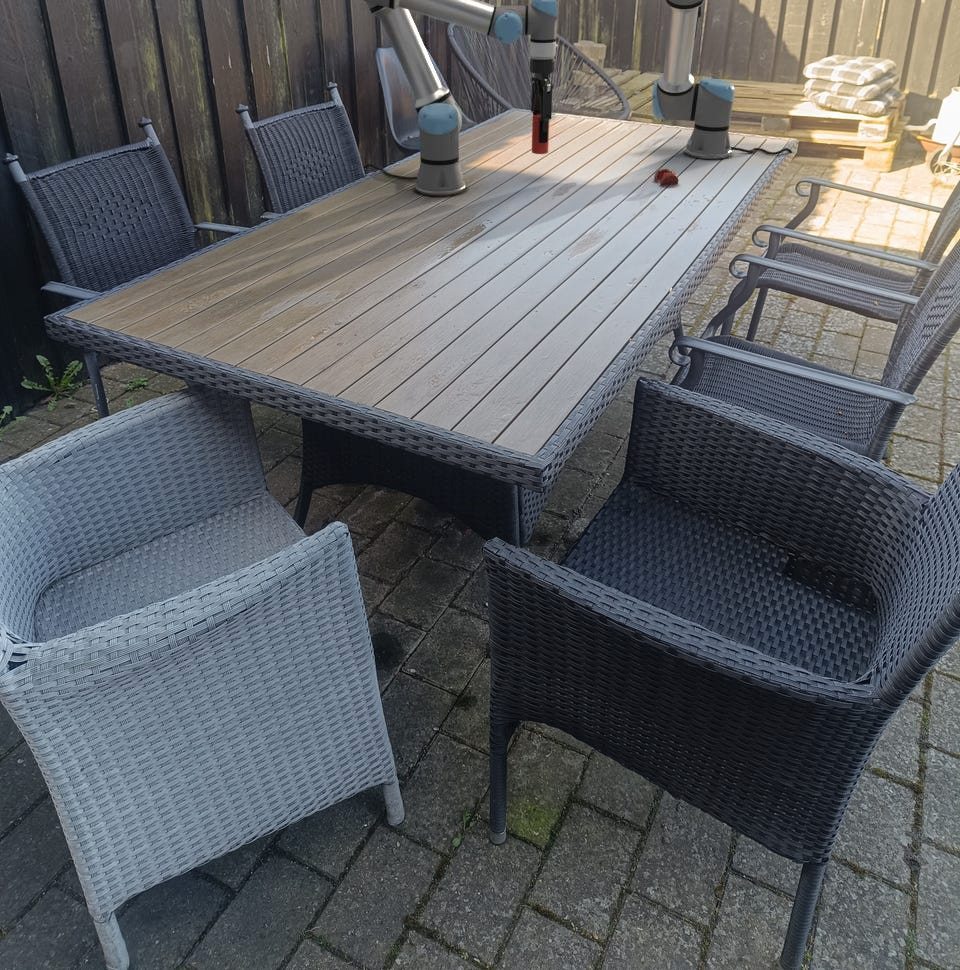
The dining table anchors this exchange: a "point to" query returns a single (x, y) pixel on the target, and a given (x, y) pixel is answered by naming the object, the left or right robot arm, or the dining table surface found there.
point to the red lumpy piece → (666, 177)
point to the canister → (536, 146)
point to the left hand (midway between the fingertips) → (540, 140)
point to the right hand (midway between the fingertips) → (685, 36)
